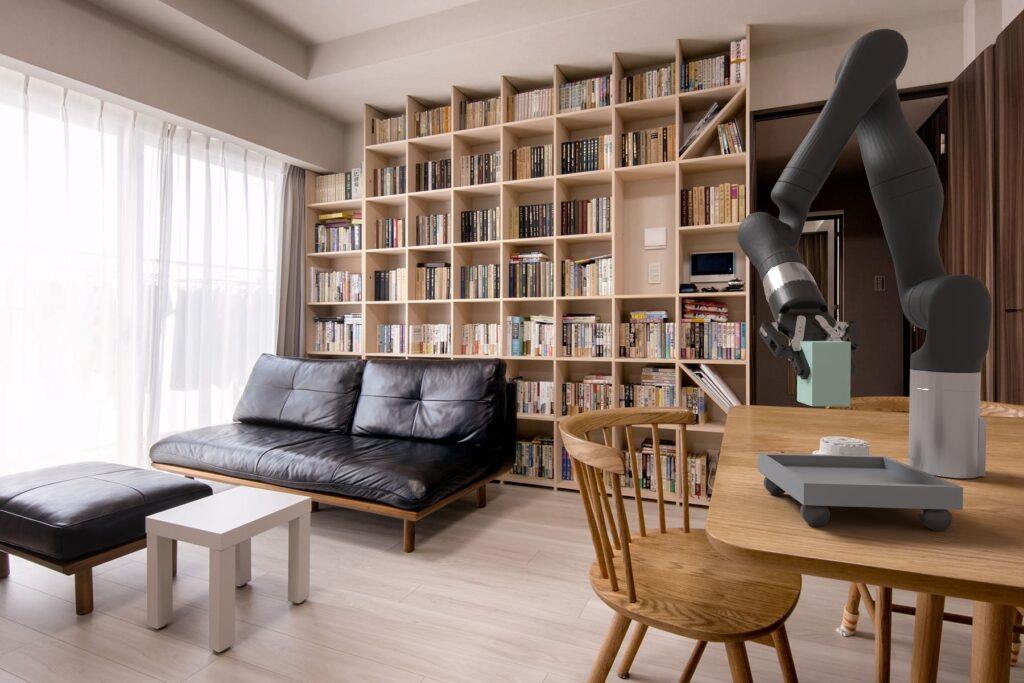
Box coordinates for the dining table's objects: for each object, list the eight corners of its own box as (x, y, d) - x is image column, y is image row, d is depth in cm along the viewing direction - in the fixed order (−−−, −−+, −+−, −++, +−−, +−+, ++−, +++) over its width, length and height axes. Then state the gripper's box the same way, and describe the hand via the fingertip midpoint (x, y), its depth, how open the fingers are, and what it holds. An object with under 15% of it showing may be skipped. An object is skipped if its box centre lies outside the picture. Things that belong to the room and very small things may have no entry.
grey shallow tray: (884, 494, 76) (885, 455, 76) (962, 534, 62) (963, 487, 61) (757, 490, 78) (758, 453, 78) (803, 529, 63) (803, 483, 63)
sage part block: (832, 401, 77) (833, 340, 77) (850, 406, 72) (850, 341, 72) (797, 401, 78) (797, 341, 77) (812, 406, 73) (812, 342, 72)
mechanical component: (823, 469, 91) (888, 473, 88) (824, 444, 90) (888, 447, 88) (804, 455, 100) (862, 458, 98) (804, 432, 100) (862, 435, 98)
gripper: (752, 279, 83) (781, 358, 71) (848, 277, 81) (894, 358, 70) (742, 313, 88) (767, 392, 77) (831, 311, 87) (871, 392, 75)
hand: (827, 375), depth 73 cm, fingers closed on sage part block, 5 cm apart
